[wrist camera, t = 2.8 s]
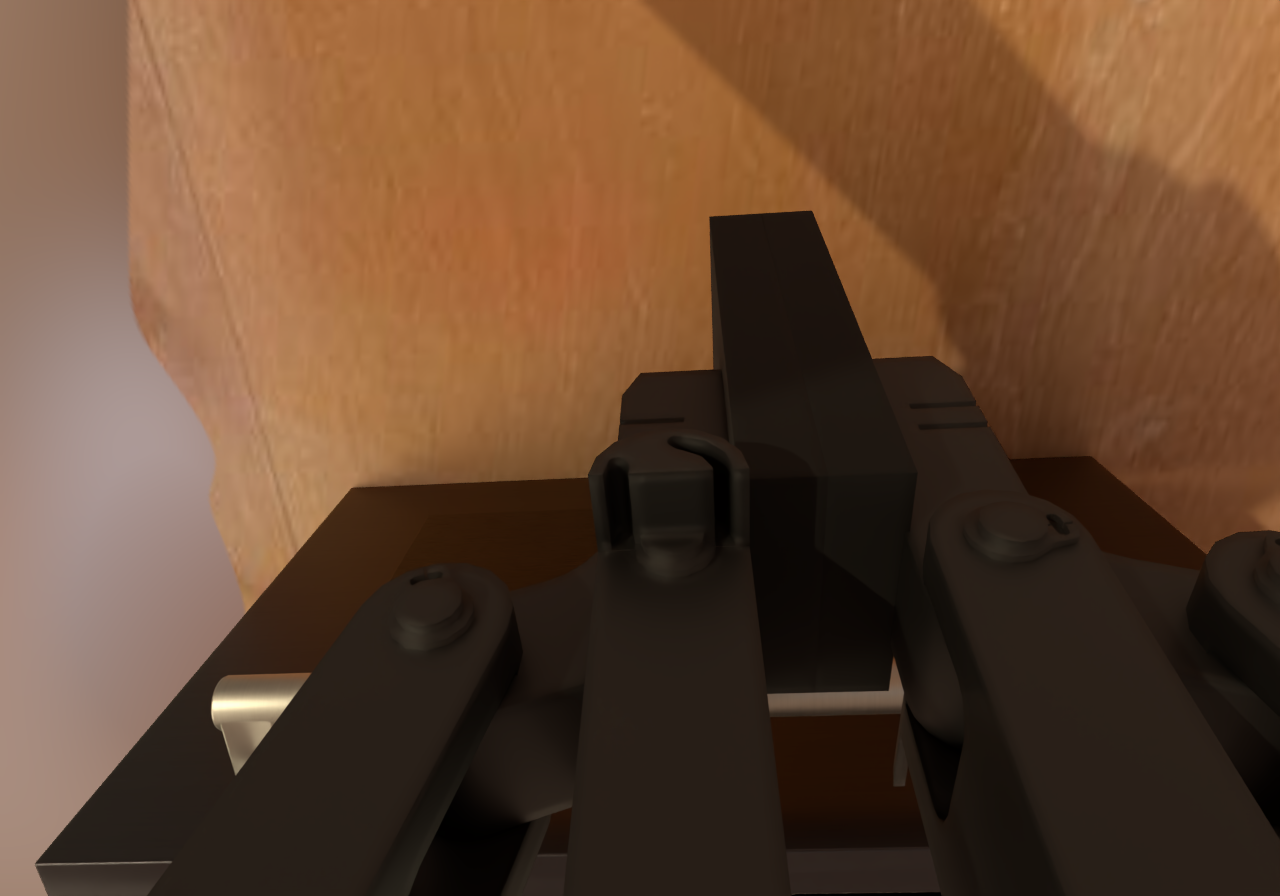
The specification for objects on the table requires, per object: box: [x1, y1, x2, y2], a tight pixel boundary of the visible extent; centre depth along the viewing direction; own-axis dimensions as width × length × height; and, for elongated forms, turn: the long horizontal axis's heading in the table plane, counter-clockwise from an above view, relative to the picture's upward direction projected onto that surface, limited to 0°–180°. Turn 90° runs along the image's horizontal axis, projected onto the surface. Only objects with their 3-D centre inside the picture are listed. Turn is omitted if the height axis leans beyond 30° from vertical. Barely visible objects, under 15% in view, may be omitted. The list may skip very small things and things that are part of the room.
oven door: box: [35, 456, 1207, 896], centre depth 35 cm, size 5×40×26 cm, turn 94°
